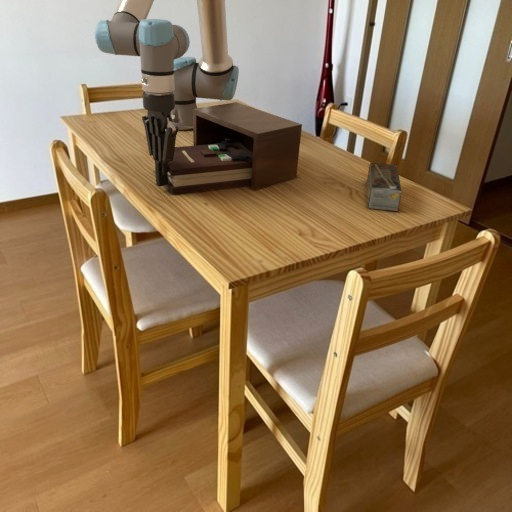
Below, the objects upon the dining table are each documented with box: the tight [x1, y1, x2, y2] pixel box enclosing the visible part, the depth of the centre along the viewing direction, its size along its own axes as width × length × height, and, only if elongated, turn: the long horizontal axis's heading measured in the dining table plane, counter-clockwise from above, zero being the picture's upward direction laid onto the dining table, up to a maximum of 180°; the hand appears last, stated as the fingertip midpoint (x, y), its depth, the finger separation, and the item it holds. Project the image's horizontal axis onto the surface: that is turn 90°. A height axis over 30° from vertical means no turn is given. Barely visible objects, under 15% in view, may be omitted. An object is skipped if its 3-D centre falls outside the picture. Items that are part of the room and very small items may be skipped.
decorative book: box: [165, 139, 253, 195], centre depth 134 cm, size 19×8×30 cm
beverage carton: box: [366, 162, 402, 212], centre depth 131 cm, size 8×19×7 cm, turn 170°
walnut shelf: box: [192, 101, 303, 191], centre depth 140 cm, size 28×16×16 cm, turn 42°
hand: (162, 184), depth 127 cm, fingers closed
